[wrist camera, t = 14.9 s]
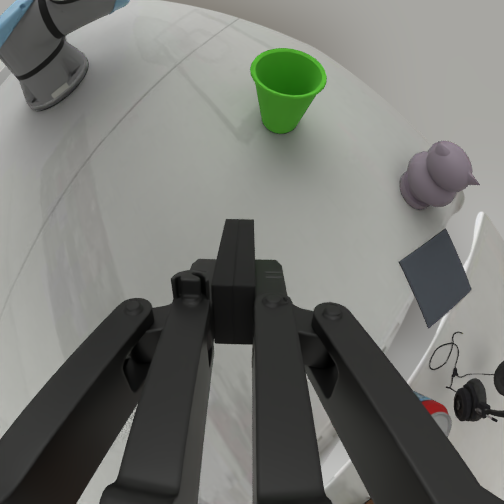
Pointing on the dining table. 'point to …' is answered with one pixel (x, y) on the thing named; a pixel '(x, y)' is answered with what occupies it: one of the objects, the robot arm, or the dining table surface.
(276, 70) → the cup
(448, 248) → the placemat
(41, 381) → the dining table surface
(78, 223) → the dining table surface
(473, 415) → the headphones
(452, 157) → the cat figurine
